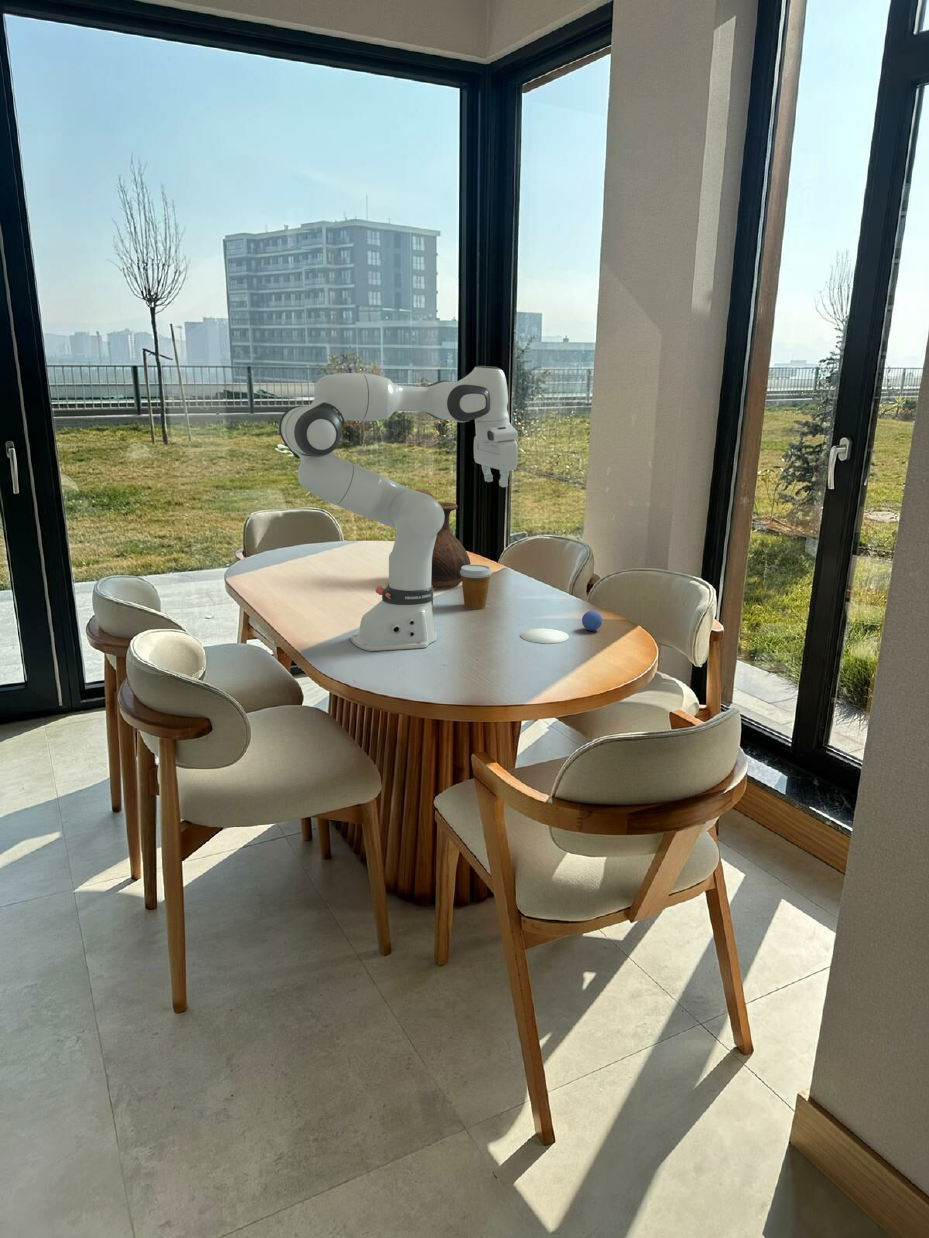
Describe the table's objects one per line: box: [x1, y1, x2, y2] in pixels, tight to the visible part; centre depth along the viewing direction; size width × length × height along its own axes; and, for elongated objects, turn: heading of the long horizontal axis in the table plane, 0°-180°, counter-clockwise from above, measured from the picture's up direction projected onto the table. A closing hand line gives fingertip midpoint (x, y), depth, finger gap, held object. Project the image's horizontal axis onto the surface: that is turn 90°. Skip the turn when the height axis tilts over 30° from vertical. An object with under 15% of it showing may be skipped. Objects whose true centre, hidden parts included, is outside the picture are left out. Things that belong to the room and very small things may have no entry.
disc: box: [520, 628, 570, 645], centre depth 233 cm, size 13×13×1 cm
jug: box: [415, 489, 472, 590], centre depth 283 cm, size 22×22×30 cm
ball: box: [581, 610, 603, 632], centre depth 238 cm, size 6×6×6 cm
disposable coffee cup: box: [460, 564, 493, 610], centre depth 259 cm, size 10×10×12 cm
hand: (496, 484), depth 228 cm, fingers open, 8 cm apart
